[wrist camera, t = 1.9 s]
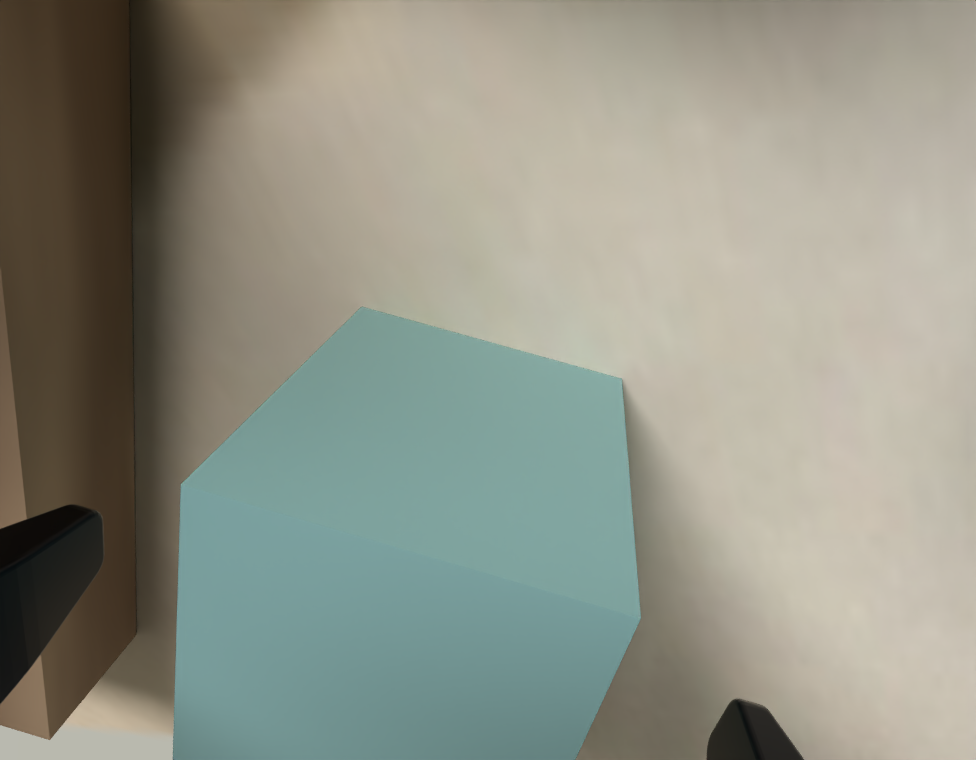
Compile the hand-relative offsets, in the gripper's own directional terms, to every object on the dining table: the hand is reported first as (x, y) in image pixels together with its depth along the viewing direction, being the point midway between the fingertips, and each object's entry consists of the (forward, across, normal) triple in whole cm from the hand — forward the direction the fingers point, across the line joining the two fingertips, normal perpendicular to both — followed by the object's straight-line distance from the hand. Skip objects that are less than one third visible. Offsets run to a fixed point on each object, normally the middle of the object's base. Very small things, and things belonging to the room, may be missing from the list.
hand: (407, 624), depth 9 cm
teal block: (+5, 0, 0) cm, 5 cm away
